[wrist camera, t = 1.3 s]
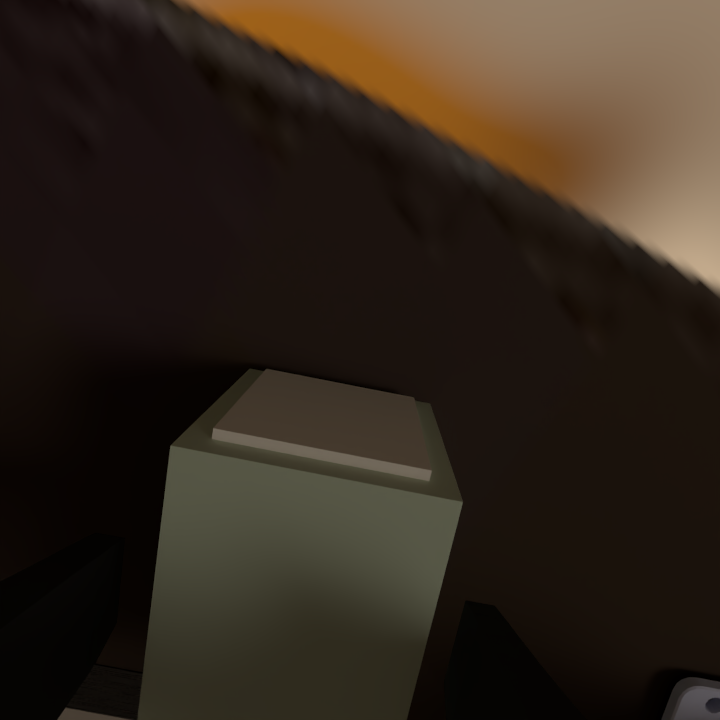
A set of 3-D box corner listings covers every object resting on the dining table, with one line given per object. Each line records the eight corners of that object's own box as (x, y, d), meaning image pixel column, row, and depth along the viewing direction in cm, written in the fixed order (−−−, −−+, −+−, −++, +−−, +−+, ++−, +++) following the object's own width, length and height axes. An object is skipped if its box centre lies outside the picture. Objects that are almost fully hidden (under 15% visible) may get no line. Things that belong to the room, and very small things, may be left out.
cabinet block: (431, 395, 14) (466, 490, 8) (370, 655, 16) (367, 871, 10) (252, 360, 14) (171, 433, 8) (211, 625, 16) (124, 826, 10)
